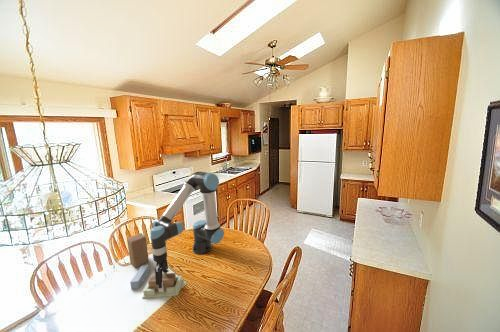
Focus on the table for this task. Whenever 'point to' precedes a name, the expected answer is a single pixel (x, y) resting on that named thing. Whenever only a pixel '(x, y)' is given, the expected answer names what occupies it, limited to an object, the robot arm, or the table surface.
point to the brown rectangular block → (167, 279)
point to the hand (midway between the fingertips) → (163, 286)
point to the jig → (169, 291)
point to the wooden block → (138, 249)
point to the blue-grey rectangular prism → (139, 276)
